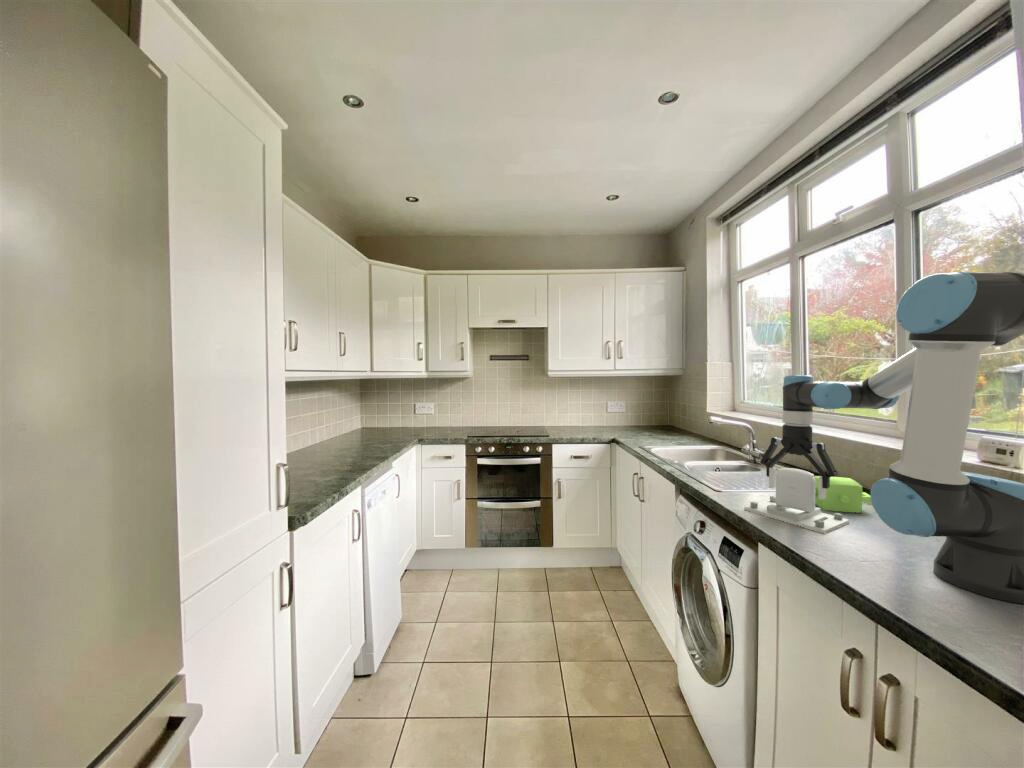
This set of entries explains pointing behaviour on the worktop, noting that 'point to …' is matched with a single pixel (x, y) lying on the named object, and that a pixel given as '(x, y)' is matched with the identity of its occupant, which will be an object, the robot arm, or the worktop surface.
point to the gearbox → (842, 495)
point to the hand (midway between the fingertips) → (795, 492)
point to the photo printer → (795, 489)
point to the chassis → (798, 516)
